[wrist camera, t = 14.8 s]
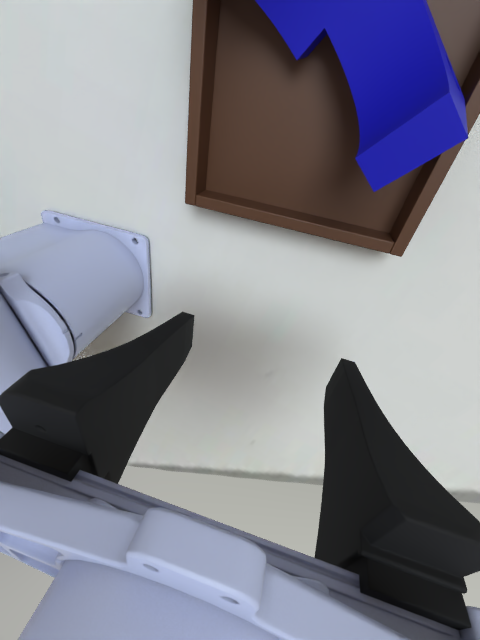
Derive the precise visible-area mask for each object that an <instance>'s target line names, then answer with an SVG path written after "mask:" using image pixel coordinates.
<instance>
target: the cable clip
mask: <svg viewBox="0 0 480 640" xmlns="http://www.w3.org/2000/svg"><path fill="white" fill-rule="evenodd" d="M255 1H256V2H257V3H258V5H259V6H260V7H261V8H262V10H263V11H264V12H265V13H266V15H267V16H268V17H269V19H270V20H271V21H272V23H273V24H274V26H275V27H276V28H277V30H278V31H279V33H280V34H281V36H282V37H283V39H284V40H285V42H286V43H287V45H288V47H289V48H290V50H291V52H292V53H293V55H294V57H295V58H296V60H300V59H303V58H305V57H307V56H308V55H309V54H310V53H311V52H312V51H313V50H314V48H315V47H316V46H317V45H318V44H319V43H320V41H321V40H322V39H323V38H324V37H325V36H326V35H327V34H328V36H329V38H330V40H331V42H332V44H333V46H334V48H335V51H336V53H337V55H338V57H339V60H340V62H341V65H342V67H343V69H344V72H345V75H346V77H347V80H348V83H349V86H350V89H351V92H352V95H353V99H354V103H355V106H356V111H357V116H358V121H359V130H360V143H359V149H358V153H357V155H356V157H355V159H356V161H357V163H358V164H359V166H360V168H361V170H362V172H363V173H364V175H365V177H366V179H367V181H368V182H369V184H370V186H371V188H372V189H373V191H374V192H375V191H377V190H379V189H380V188H382V187H384V186H386V185H387V184H389V183H391V182H393V181H394V180H396V179H398V178H400V177H401V176H403V175H405V174H407V173H408V172H410V171H412V170H414V169H415V168H417V167H419V166H420V165H422V164H424V163H426V162H427V161H429V160H431V159H433V158H434V157H436V156H438V155H440V154H441V153H443V152H445V151H447V150H448V149H450V148H452V147H454V146H455V145H457V144H459V143H461V142H462V141H464V140H466V139H467V138H468V130H467V119H466V107H465V99H464V96H463V94H462V91H461V88H460V86H459V83H458V81H457V78H456V76H455V73H454V70H453V68H452V65H451V63H450V60H449V58H448V55H447V52H446V50H445V47H444V45H443V42H442V40H441V37H440V35H439V32H438V29H437V27H436V24H435V22H434V19H433V17H432V14H431V11H430V9H429V6H428V4H427V1H426V0H255Z"/></svg>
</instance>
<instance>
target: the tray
mask: <svg viewBox="0 0 480 640" xmlns="http://www.w3.org/2000/svg"><path fill="white" fill-rule="evenodd" d="M426 1H427V4H428V6H429V9H430V11H431V14H432V17H433V19H434V22H435V24H436V27H437V29H438V32H439V35H440V37H441V40H442V42H443V45H444V47H445V50H446V52H447V55H448V58H449V60H450V63H451V65H452V68H453V70H454V73H455V76H456V78H457V81H458V83H459V86H460V88H461V91H462V94H463V96H464V99H465V107H466V119H467V130H468V134H469V132H470V130H471V128H472V127H473V125H474V123H475V121H476V119H477V117H478V116H479V114H480V0H426ZM464 141H465V140H464ZM464 141H462V142H461V143H459V144H457V145H455V146H454V147H452V148H450V149H448V150H447V151H445V152H443V153H441V154H440V155H438V156H436V157H434V158H433V159H431V160H429V161H427V162H426V163H424V164H422V165H420V166H419V167H417V168H415V169H414V170H412V171H410V172H408V173H407V174H405V175H403V176H401V177H400V178H398V179H396V180H394V181H393V182H391V183H389V184H387V185H386V186H384V187H382V188H380V189H379V190H377V191H375V192H374V191H373V189H372V188H371V186H370V184H369V182H368V181H367V179H366V177H365V175H364V173H363V172H362V170H361V168H360V166H359V164H358V163H357V161H356V159H355V157H356V155H357V153H358V149H359V143H360V130H359V121H358V116H357V111H356V106H355V103H354V99H353V95H352V92H351V89H350V86H349V83H348V80H347V77H346V75H345V72H344V69H343V67H342V65H341V62H340V60H339V57H338V55H337V53H336V51H335V48H334V46H333V44H332V42H331V40H330V38H329V36H328V34H327V35H326V36H325V37H324V38H323V39H322V40H321V41H320V43H319V44H318V45H317V46H316V47H315V48H314V50H313V51H312V52H311V53H310V54H309V55H308V56H307V57H305V58H303V59H300V60H296V58H295V57H294V55H293V53H292V52H291V50H290V48H289V47H288V45H287V43H286V42H285V40H284V39H283V37H282V36H281V34H280V33H279V31H278V30H277V28H276V27H275V26H274V24H273V23H272V21H271V20H270V19H269V17H268V16H267V15H266V13H265V12H264V11H263V10H262V8H261V7H260V6H259V5H258V3H257V2H256V1H255V0H193V15H192V40H191V65H190V91H189V116H188V141H187V167H186V192H185V203H186V204H190V205H194V206H195V205H196V206H198V207H202V208H206V209H210V210H214V211H218V212H222V213H226V214H230V215H234V216H238V217H242V218H247V219H251V220H255V221H259V222H263V223H267V224H271V225H275V226H279V227H283V228H287V229H291V230H295V231H299V232H303V233H308V234H312V235H316V236H320V237H324V238H328V239H332V240H336V241H340V242H344V243H348V244H352V245H356V246H360V247H365V248H369V249H373V250H377V251H381V252H385V253H390V254H392V255H396V256H400V257H401V256H402V255H403V253H404V251H405V249H406V248H407V246H408V244H409V242H410V240H411V238H412V237H413V235H414V233H415V231H416V229H417V227H418V226H419V224H420V222H421V220H422V218H423V216H424V215H425V213H426V211H427V209H428V207H429V205H430V204H431V202H432V200H433V198H434V196H435V194H436V193H437V191H438V189H439V187H440V185H441V183H442V182H443V180H444V178H445V176H446V174H447V172H448V171H449V169H450V167H451V165H452V163H453V161H454V160H455V158H456V156H457V154H458V152H459V150H460V149H461V147H462V145H463V143H464Z"/></svg>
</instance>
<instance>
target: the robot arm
mask: <svg viewBox="0 0 480 640" xmlns="http://www.w3.org/2000/svg"><path fill="white" fill-rule="evenodd" d="M41 216H42V220H43V223H42V224H39V225H36V226H33V227H30V228H27V229H24V230H21V231H18V232H15V233H12V234H10V235H7V236H4V237H1V238H0V552H2V553H4V554H6V555H8V556H10V557H13V558H14V559H17V560H19V561H21V562H23V563H25V564H27V565H29V566H31V567H33V568H35V569H37V570H40V571H42V572H44V573H46V574H48V575H50V576H52V577H54V578H55V579H54V580H53V582H52V584H51V585H50V587H49V589H48V591H47V592H46V594H45V595H44V597H43V599H42V600H41V602H40V604H39V605H38V607H37V609H36V610H35V612H34V614H33V615H32V617H31V619H30V620H29V622H28V623H27V625H26V627H25V628H24V630H23V632H22V634H21V635H20V637H19V638H18V640H480V608H477V607H471V606H465V602H464V599H463V595H462V593H466V592H467V587H466V584H465V581H464V578H463V577H464V576H467V575H470V574H472V573H475V572H478V571H480V522H479V521H478V520H477V519H476V518H475V517H474V516H473V515H472V514H471V513H470V512H469V511H468V510H466V508H464V507H463V506H462V505H461V504H460V503H459V502H458V501H457V500H456V499H455V498H454V497H453V496H452V495H451V494H450V493H449V492H448V491H447V490H446V489H445V488H444V487H443V486H442V485H441V484H440V483H439V482H438V481H437V480H436V479H435V478H434V477H433V476H432V475H431V474H430V473H429V472H428V471H427V469H426V468H425V467H424V466H423V465H422V464H421V463H420V462H419V460H418V459H417V458H416V457H415V456H414V455H413V453H412V452H411V451H410V450H409V448H408V447H407V446H406V445H405V444H404V442H403V441H402V440H401V438H400V437H399V436H398V434H397V433H396V432H395V430H394V429H393V427H392V426H391V425H390V423H389V422H388V420H387V419H386V417H385V415H384V414H383V412H382V411H381V409H380V408H379V406H378V404H377V403H376V401H375V399H374V397H373V396H372V394H371V392H370V390H369V388H368V387H367V385H366V383H365V381H364V379H363V377H362V375H361V373H360V371H359V369H358V367H357V365H356V364H355V362H352V361H349V360H346V359H342V358H341V360H340V362H339V364H338V366H337V368H336V369H335V371H334V373H333V375H332V377H331V379H330V381H329V383H328V385H327V386H326V392H325V401H324V431H325V469H324V482H323V493H322V503H321V512H320V521H319V529H318V537H317V544H316V551H315V558H313V557H311V556H308V555H305V554H303V553H300V552H297V551H295V550H292V549H289V548H286V547H284V546H281V545H278V544H276V543H273V542H271V541H268V540H265V539H263V538H260V537H257V536H255V535H252V534H249V533H246V532H244V531H241V530H239V529H236V528H233V527H231V526H228V525H225V524H223V523H220V522H217V521H215V520H212V519H209V518H207V517H204V516H201V515H199V514H196V513H193V512H191V511H188V510H186V509H183V508H180V507H178V506H175V505H172V504H169V503H167V502H164V501H162V500H159V499H156V498H153V497H151V496H148V495H145V494H143V493H140V492H138V491H135V490H132V489H130V488H127V487H124V486H122V485H119V484H118V482H119V480H120V478H121V476H122V474H123V471H124V469H125V467H126V465H127V463H128V460H129V458H130V456H131V454H132V452H133V450H134V448H135V446H136V444H137V442H138V439H139V437H140V436H141V434H142V432H143V430H144V428H145V426H146V424H147V422H148V420H149V418H150V416H151V414H152V412H153V410H154V408H155V406H156V405H157V403H158V401H159V400H160V398H161V397H162V395H163V394H164V392H165V391H166V389H167V388H168V386H169V385H170V383H171V382H172V380H173V379H174V377H175V376H176V374H177V373H178V371H179V370H180V368H181V366H182V365H183V363H184V361H185V360H186V358H187V356H188V353H189V351H190V349H191V347H192V339H193V326H194V315H192V314H188V313H185V312H182V313H180V314H178V315H177V316H175V317H173V318H172V319H170V320H168V321H167V322H165V323H163V324H162V325H160V326H158V327H156V328H155V329H153V330H151V331H149V332H148V333H146V334H144V335H142V336H140V337H138V338H136V339H134V340H132V341H130V342H128V343H125V344H123V345H121V346H118V347H116V348H113V349H111V350H108V351H105V352H102V353H99V354H96V355H93V356H90V357H87V358H83V359H79V360H76V361H72V359H74V358H75V357H76V356H77V355H78V354H79V353H80V352H81V351H82V350H83V349H85V348H86V347H87V346H88V345H89V344H90V343H91V342H92V341H93V340H94V339H95V338H97V337H98V336H99V335H100V334H101V333H102V332H103V331H104V330H105V329H106V328H108V327H109V326H110V325H111V324H112V323H113V322H114V321H115V320H116V319H117V318H119V317H120V316H121V315H122V314H123V313H124V312H128V313H132V314H135V315H138V316H142V317H145V318H148V317H150V316H151V314H152V311H151V284H150V258H149V241H148V239H147V237H145V236H144V235H141V234H137V233H133V232H129V231H125V230H122V229H118V228H114V227H110V226H106V225H103V224H99V223H95V222H91V221H87V220H84V219H80V218H76V217H72V216H69V215H65V214H61V213H57V212H53V211H50V210H45V211H42V213H41ZM58 219H59V220H60V221H59V220H58ZM135 238H136V239H137V240H138V242H136V241H135ZM140 310H141V311H142V312H141V311H140Z"/></svg>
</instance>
